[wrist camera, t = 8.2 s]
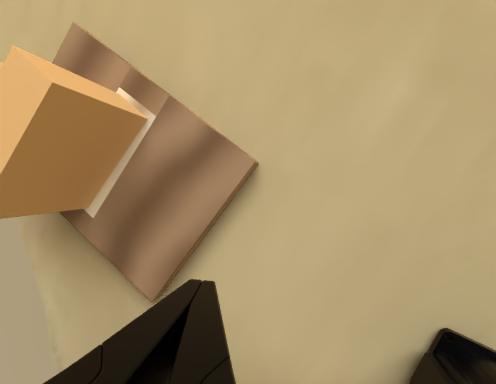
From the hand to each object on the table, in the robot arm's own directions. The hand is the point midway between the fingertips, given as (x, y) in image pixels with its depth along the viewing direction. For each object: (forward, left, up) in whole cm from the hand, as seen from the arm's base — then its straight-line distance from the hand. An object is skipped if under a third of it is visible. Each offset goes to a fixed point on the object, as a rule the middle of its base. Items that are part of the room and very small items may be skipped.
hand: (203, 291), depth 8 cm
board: (+15, 0, -12) cm, 19 cm away
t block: (+19, -1, -11) cm, 22 cm away
